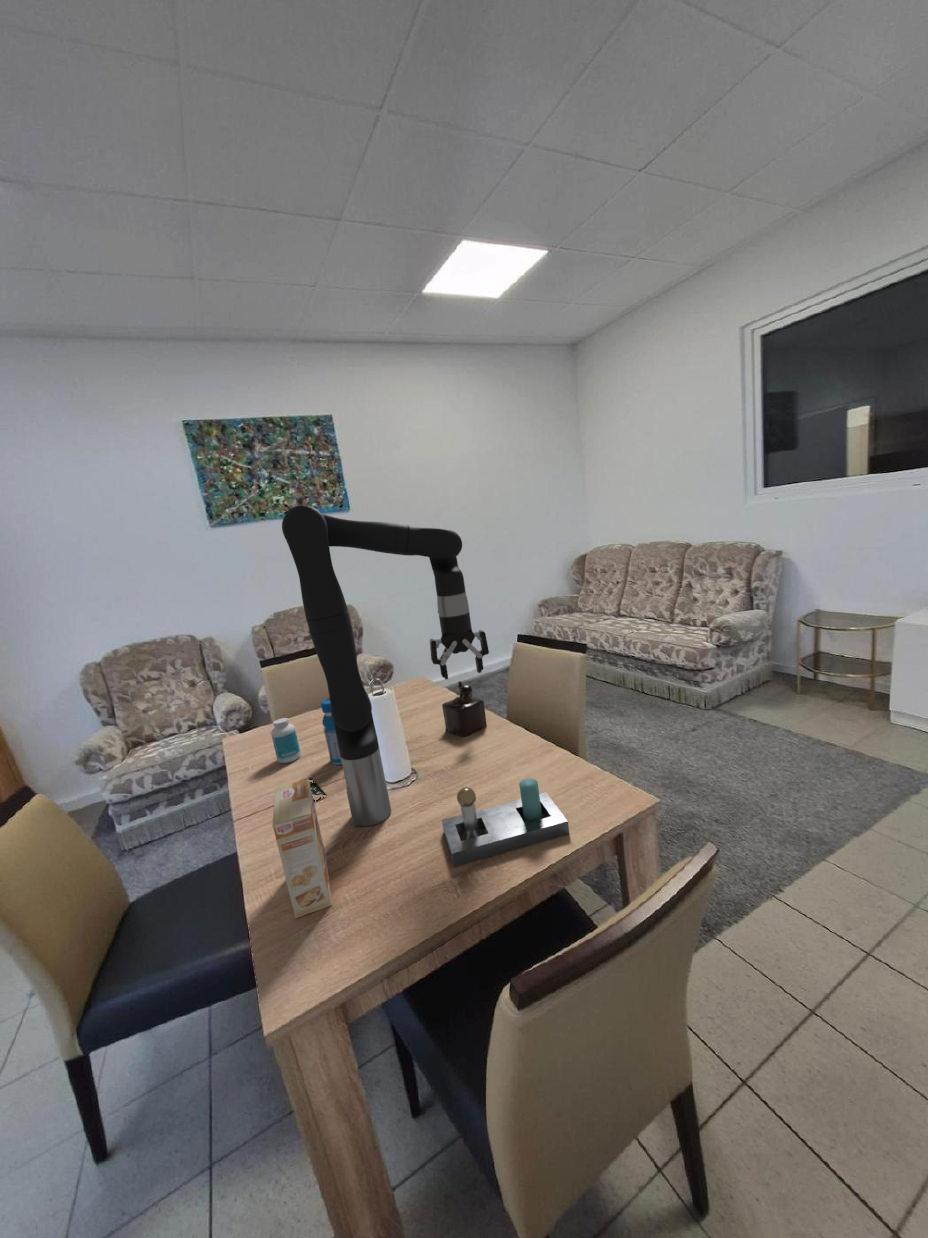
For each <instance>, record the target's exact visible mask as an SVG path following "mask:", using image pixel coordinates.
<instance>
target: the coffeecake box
mask: <svg viewBox="0 0 928 1238" xmlns="http://www.w3.org/2000/svg"><path fill="white" fill-rule="evenodd" d="M272 814H273V815H272V824H271V825H272V828H273V831H274V832H273V833H274V835H275V836H274V837H275V840H276V845H277V849H278V854H279V856H280V860H281V866H282V868H283V874H284V877H285V883H286V886H287V887H286V888H287V890H288V894H289V899H290V902H291V903H290V904H291V906H292V911H293V915H294V916H293V917H294V919H295V920H296V919H298V918H300V917H303V916H306V915H308V914H312V913H315V912H317V911H320V910H323V909H325V908H329V907H331V906H332V905H333V901H332V891H331V883H330V876H329V867H328V866H329V865H328V859H327V855H326V852H325V846H324V843H323V838H322V834H321V829H320V823H319V819H318V816H317V815H318V814H317V811H316V807H315V803H314V801H313V796H312V792H311V787H310V782H309V779H308V778H306V779H302V780H299V781H295V782H292V783H289V784H285V785H282V786H277V787H275V791H274V801H273V813H272Z"/></svg>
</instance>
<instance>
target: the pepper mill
mask: <svg viewBox="0 0 928 1238" xmlns="http://www.w3.org/2000/svg"><path fill="white" fill-rule="evenodd" d="M457 684H458V688H457V689H459V696H457V697H455V698H453V699H452V700H449V701H447V702H444V703H442V706H441V707H442V712H443V713H442V714H443V718H444V720H443V721H444V727H445V730H446V731H447V732H449V733H451V734H452V735H453V734H454V735H456V736H460V737H467V736H471V735H473V734H475V733H477V732H479V731H481V730H483V729H485V728H486V727H488V724H487V718H486V717H487V716H486V709H485V702H484V700H482V699H479V698H475V697H473V687H472V686H471V685H469V684H464V685H463V683H462V681H458V683H457Z"/></svg>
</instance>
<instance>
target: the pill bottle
mask: <svg viewBox="0 0 928 1238" xmlns="http://www.w3.org/2000/svg"><path fill="white" fill-rule="evenodd" d="M270 735H271V736H270V737H271V739H272V743H273V747H274V751H275V757H276V759H277V762H278V763H279V764H287V763H293V762H294V761H297V760H298V759H299V758H300V757H301V755H302V753H301V749H300V745H299V739H298V734H297V731H296V727H295V725H294V724H293V723H290V721H289V718H288V717H282V718H278V719H275V721H273V728H272V729H271V732H270Z"/></svg>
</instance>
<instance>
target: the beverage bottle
mask: <svg viewBox="0 0 928 1238" xmlns="http://www.w3.org/2000/svg"><path fill="white" fill-rule="evenodd" d="M320 707H321V710H322V713H323V714H324V715H323V717H322V723H321V724H322V726H323V727H324V728H323V734H324V736H325V737H324V738H325V741H326V745H327V751H328V754H329V759H330V763H331V764H332V765H336V766H338V765H339V766H340V765H342V761H341V756H340V752H339V747H338V742H337V736H336V731H335V726H334V721H333V719H332V716H331V707H330V697H327V698H325V699H323V700H321V702H320Z"/></svg>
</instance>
